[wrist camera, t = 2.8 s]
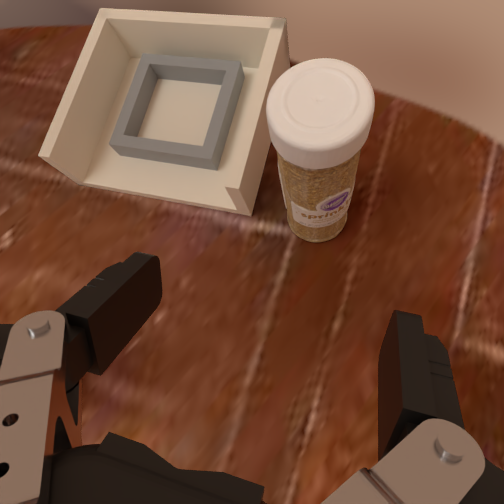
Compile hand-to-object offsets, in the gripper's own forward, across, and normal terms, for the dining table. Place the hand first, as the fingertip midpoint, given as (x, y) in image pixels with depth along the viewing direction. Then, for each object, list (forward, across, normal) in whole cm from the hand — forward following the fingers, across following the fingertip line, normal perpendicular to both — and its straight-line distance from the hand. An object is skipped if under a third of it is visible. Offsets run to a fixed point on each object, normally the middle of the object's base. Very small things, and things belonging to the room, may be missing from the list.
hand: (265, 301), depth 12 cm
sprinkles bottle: (+16, 0, +4) cm, 17 cm away
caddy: (+20, +13, 0) cm, 24 cm away
